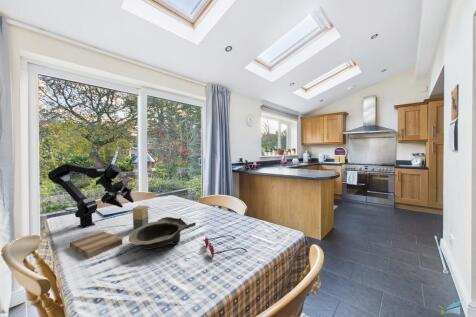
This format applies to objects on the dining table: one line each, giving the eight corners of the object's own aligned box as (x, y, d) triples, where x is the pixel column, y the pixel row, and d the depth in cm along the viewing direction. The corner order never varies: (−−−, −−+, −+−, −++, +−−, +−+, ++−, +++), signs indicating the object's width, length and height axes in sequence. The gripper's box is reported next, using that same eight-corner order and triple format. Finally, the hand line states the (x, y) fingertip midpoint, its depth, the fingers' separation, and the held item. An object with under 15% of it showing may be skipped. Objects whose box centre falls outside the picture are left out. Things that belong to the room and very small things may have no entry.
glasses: (203, 245, 96) (202, 234, 95) (235, 238, 102) (235, 228, 102) (211, 260, 83) (211, 248, 82) (248, 252, 89) (248, 240, 89)
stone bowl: (195, 235, 105) (194, 218, 103) (163, 266, 81) (161, 244, 80) (156, 228, 113) (154, 212, 112) (116, 254, 89) (113, 235, 88)
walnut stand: (69, 247, 94) (69, 241, 94) (102, 235, 106) (102, 230, 105) (88, 258, 84) (88, 252, 84) (122, 244, 96) (122, 239, 96)
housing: (133, 229, 113) (132, 208, 112) (139, 225, 118) (138, 205, 117) (142, 230, 112) (142, 208, 111) (148, 226, 117) (147, 205, 117)
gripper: (104, 177, 105) (125, 199, 105) (128, 172, 124) (146, 191, 123) (91, 192, 107) (112, 213, 106) (117, 185, 126) (134, 203, 125)
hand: (127, 204), depth 115 cm, fingers open, 9 cm apart
